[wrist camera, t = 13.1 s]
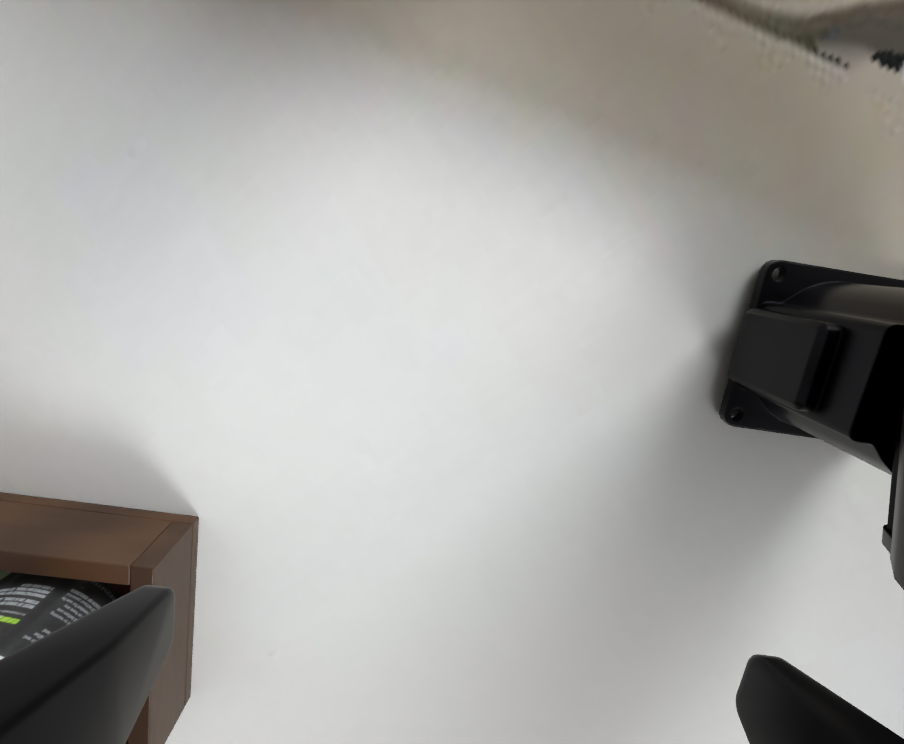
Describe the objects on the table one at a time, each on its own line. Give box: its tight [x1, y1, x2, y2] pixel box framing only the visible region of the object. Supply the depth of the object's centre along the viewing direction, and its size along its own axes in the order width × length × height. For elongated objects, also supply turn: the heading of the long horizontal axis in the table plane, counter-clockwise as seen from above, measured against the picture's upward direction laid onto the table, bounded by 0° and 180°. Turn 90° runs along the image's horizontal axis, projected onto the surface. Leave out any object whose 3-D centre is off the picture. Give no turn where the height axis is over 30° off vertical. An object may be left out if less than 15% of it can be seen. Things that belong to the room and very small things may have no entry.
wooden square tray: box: [0, 492, 199, 744], centre depth 21 cm, size 9×9×4 cm
